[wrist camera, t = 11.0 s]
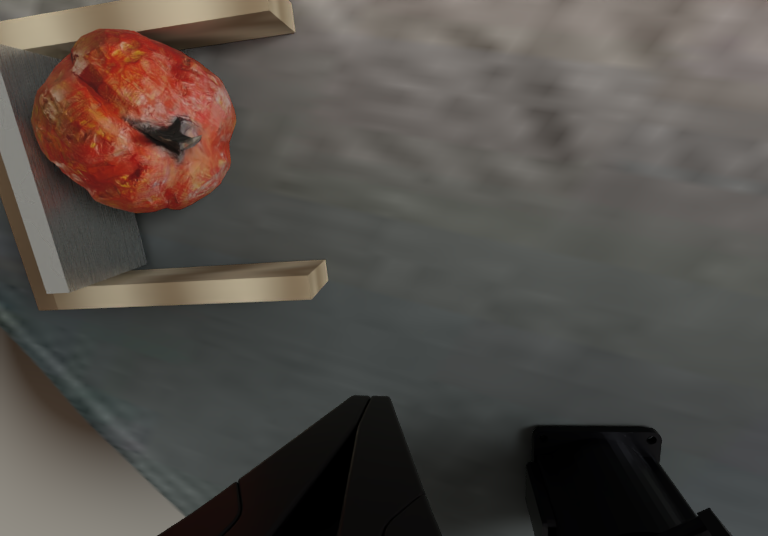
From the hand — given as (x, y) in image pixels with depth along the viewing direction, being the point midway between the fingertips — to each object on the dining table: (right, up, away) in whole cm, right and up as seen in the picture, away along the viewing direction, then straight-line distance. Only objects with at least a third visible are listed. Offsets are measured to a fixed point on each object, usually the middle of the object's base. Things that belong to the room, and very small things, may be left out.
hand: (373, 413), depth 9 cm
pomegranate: (-10, +10, +12) cm, 19 cm away
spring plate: (-14, +8, +13) cm, 21 cm away
